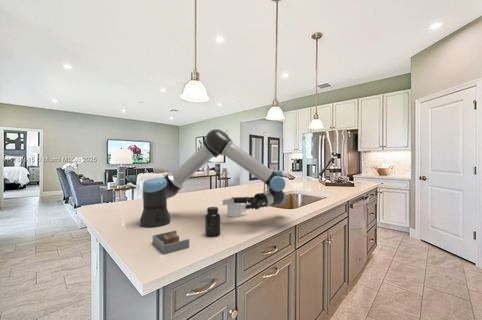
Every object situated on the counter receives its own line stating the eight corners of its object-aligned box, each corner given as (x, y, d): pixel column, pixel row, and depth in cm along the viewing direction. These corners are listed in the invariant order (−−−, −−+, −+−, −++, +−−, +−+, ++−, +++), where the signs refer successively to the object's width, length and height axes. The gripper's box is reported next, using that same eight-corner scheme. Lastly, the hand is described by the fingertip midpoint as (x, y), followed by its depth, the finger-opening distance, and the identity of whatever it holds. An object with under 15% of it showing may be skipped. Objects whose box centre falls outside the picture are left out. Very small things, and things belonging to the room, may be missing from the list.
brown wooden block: (175, 241, 92) (174, 233, 92) (179, 245, 88) (179, 236, 87) (162, 244, 89) (162, 235, 89) (166, 248, 85) (166, 239, 85)
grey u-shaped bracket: (175, 237, 96) (175, 230, 96) (189, 247, 85) (189, 239, 85) (152, 242, 90) (152, 235, 90) (163, 254, 79) (163, 246, 79)
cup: (226, 214, 133) (226, 197, 133) (245, 213, 136) (245, 196, 136) (228, 218, 125) (228, 200, 125) (248, 216, 128) (248, 199, 128)
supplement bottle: (213, 230, 104) (212, 205, 104) (223, 233, 99) (223, 207, 99) (202, 234, 99) (201, 208, 98) (212, 238, 94) (212, 210, 94)
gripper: (280, 211, 108) (247, 218, 95) (248, 202, 128) (217, 207, 115) (280, 196, 108) (247, 201, 95) (248, 190, 128) (217, 193, 115)
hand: (230, 205), depth 105 cm, fingers open, 13 cm apart
